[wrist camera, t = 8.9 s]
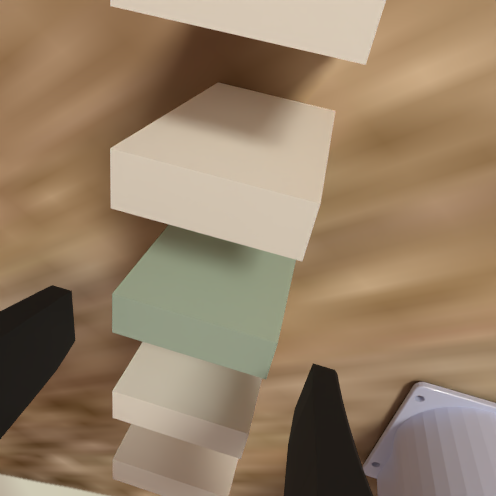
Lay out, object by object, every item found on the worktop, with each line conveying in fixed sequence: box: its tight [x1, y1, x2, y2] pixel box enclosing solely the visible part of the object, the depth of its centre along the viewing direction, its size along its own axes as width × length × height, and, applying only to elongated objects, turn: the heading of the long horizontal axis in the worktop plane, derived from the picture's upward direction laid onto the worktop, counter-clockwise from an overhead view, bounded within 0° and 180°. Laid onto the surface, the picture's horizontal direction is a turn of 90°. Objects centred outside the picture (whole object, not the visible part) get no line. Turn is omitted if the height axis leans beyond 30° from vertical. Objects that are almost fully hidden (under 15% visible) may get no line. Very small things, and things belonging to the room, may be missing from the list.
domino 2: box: [110, 82, 335, 261], centre depth 13 cm, size 2×5×9 cm, turn 79°
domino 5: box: [113, 424, 238, 496], centre depth 21 cm, size 2×5×9 cm, turn 79°
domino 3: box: [112, 225, 296, 379], centre depth 16 cm, size 2×5×9 cm, turn 79°
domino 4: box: [112, 342, 262, 459], centre depth 18 cm, size 2×5×9 cm, turn 79°
